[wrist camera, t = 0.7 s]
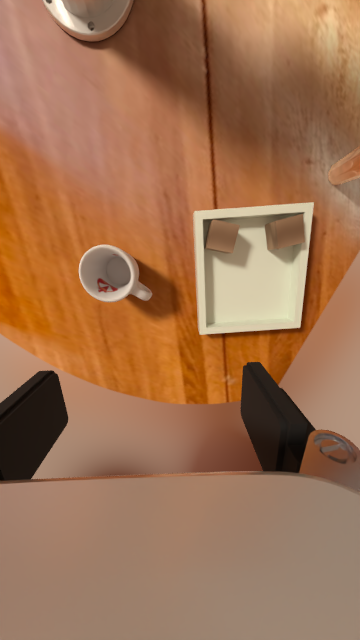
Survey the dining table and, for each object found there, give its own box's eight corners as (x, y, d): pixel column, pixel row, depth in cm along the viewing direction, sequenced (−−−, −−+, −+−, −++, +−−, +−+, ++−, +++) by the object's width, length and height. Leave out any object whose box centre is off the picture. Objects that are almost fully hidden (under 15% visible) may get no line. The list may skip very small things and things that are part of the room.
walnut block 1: (209, 223, 34) (213, 219, 30) (232, 228, 34) (239, 225, 30) (203, 248, 35) (207, 247, 31) (226, 253, 35) (232, 253, 31)
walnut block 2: (264, 224, 34) (275, 220, 30) (288, 218, 34) (303, 213, 30) (267, 249, 35) (278, 248, 31) (290, 243, 35) (304, 242, 31)
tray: (192, 215, 34) (194, 211, 31) (302, 206, 34) (313, 202, 31) (198, 329, 40) (199, 334, 37) (291, 322, 40) (300, 327, 37)
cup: (166, 274, 37) (163, 278, 29) (142, 310, 39) (133, 323, 31) (112, 237, 35) (94, 232, 27) (90, 276, 37) (68, 282, 29)
